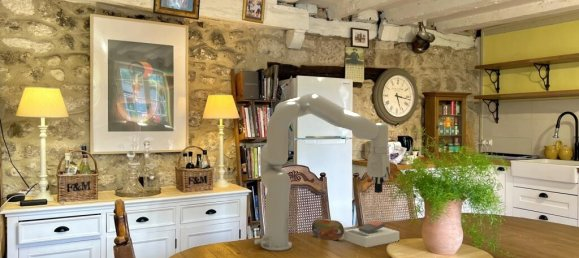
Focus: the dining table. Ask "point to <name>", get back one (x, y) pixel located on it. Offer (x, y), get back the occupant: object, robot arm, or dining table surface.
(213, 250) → the dining table surface
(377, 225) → the rocker
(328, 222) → the tin
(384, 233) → the switch panel
